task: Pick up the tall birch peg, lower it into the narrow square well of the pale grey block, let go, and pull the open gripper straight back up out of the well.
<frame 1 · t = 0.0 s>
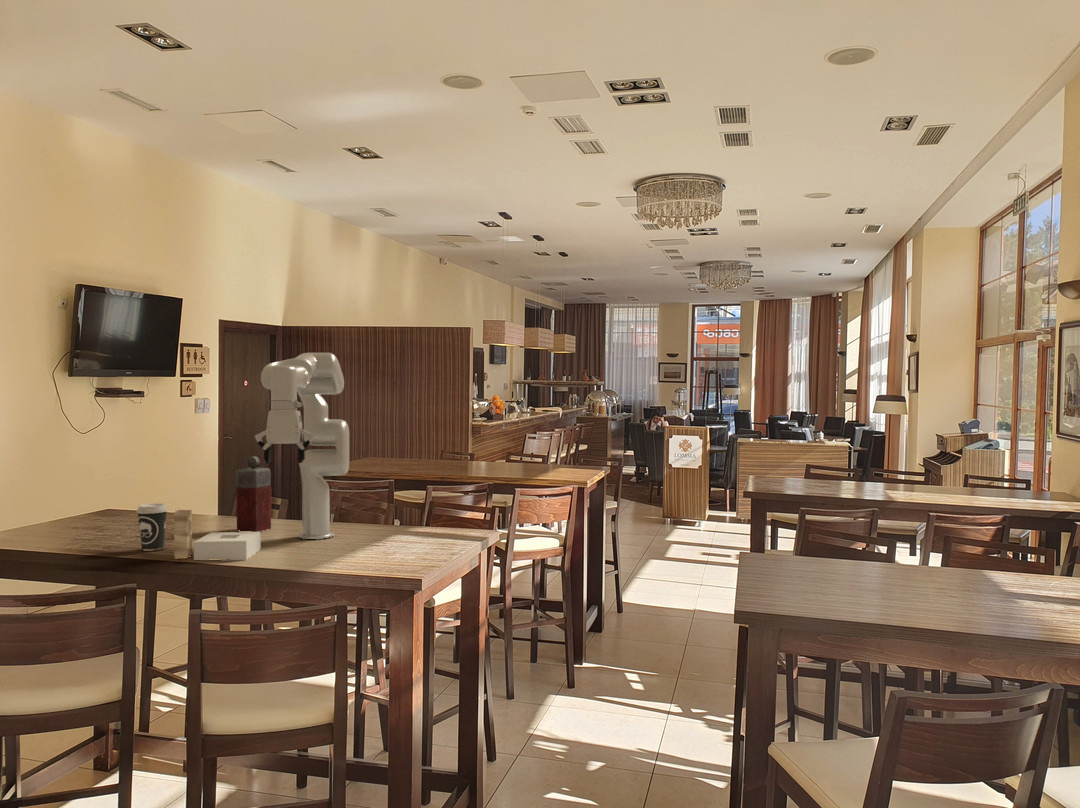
hand: (284, 462, 240), 31 cm above the table, tool pointing down, fingers open, 9 cm apart
peg: (183, 557, 251), on the table
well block: (228, 555, 255), on the table
red grey canister: (256, 530, 300), on the table
coffee cup: (152, 550, 263), on the table
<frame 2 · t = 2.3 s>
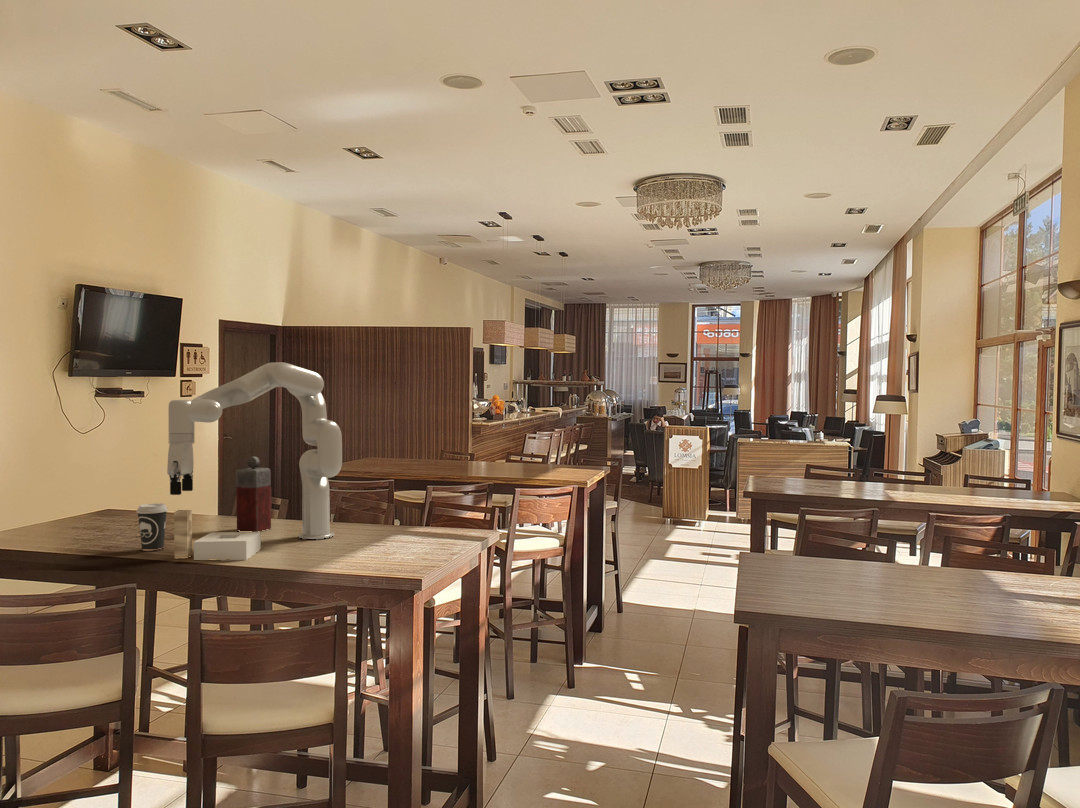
hand: (181, 492, 250), 21 cm above the table, tool pointing down, fingers open, 9 cm apart
nothing on the table moved.
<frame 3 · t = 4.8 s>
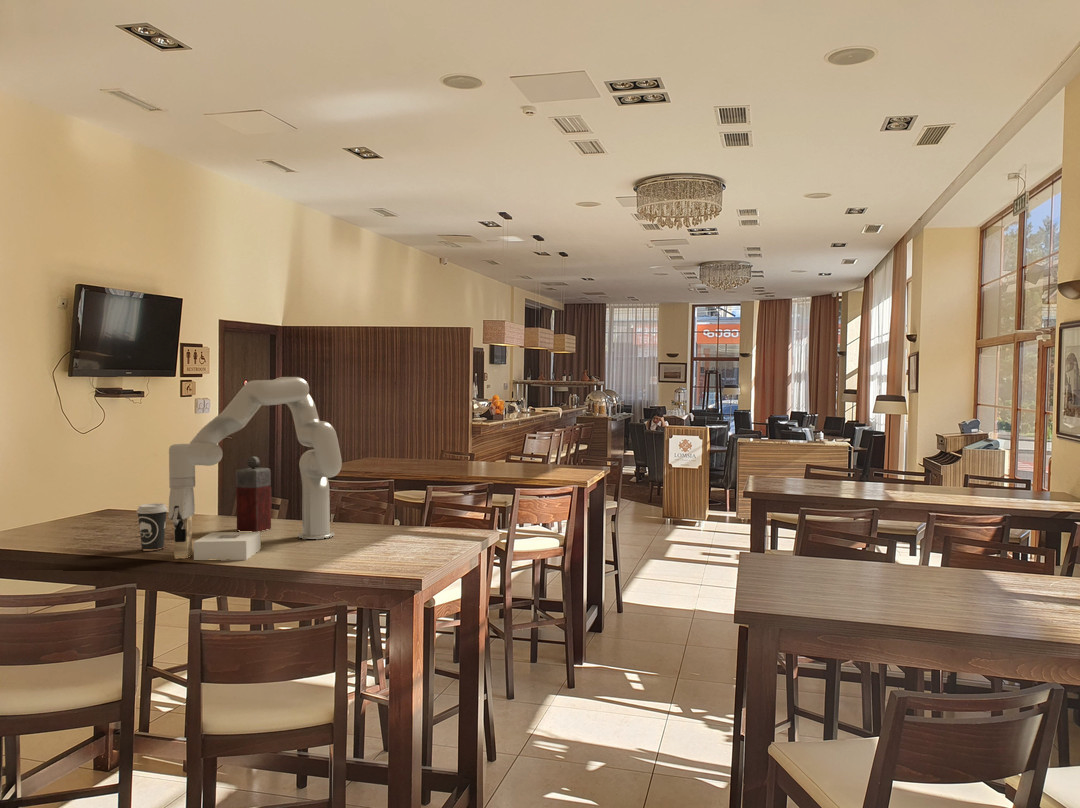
hand: (183, 539, 250), 6 cm above the table, tool pointing down, fingers closed on peg, 4 cm apart
peg: (183, 557, 251), on the table, touching gripper
everything else where it was.
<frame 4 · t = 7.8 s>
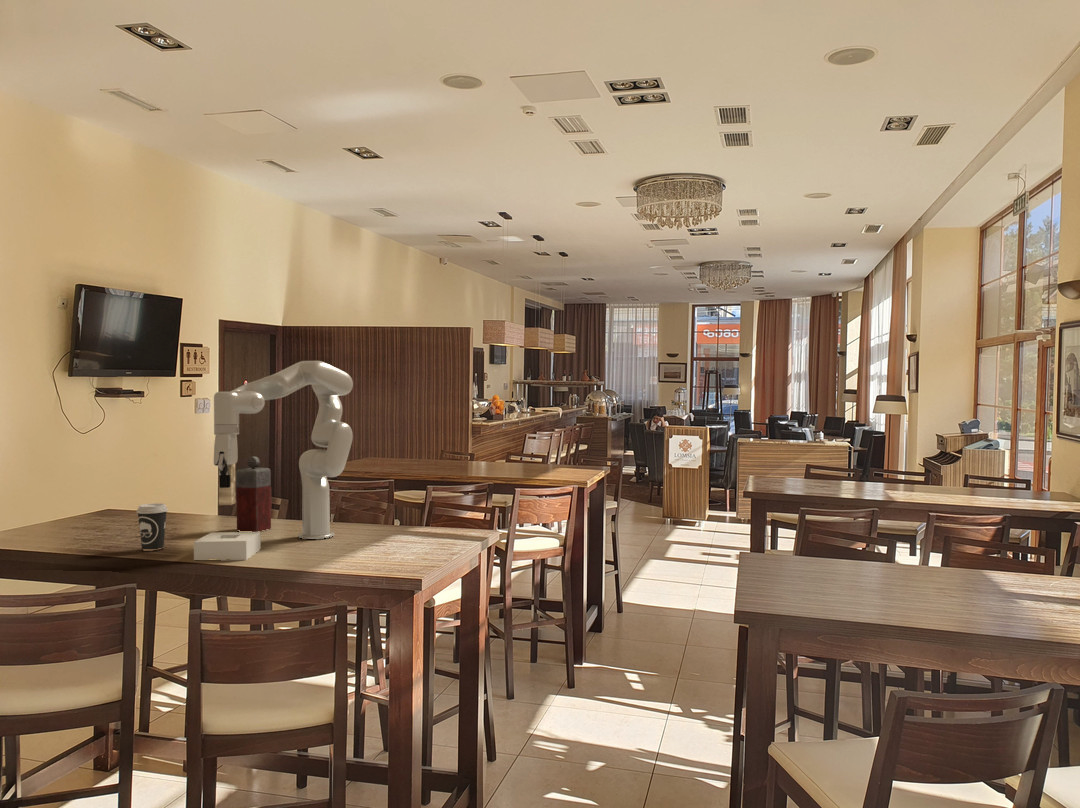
hand: (227, 486, 254), 22 cm above the table, tool pointing down, fingers closed on peg, 4 cm apart
peg: (227, 504, 254), point 17 cm above the table, touching gripper
everything else where it was.
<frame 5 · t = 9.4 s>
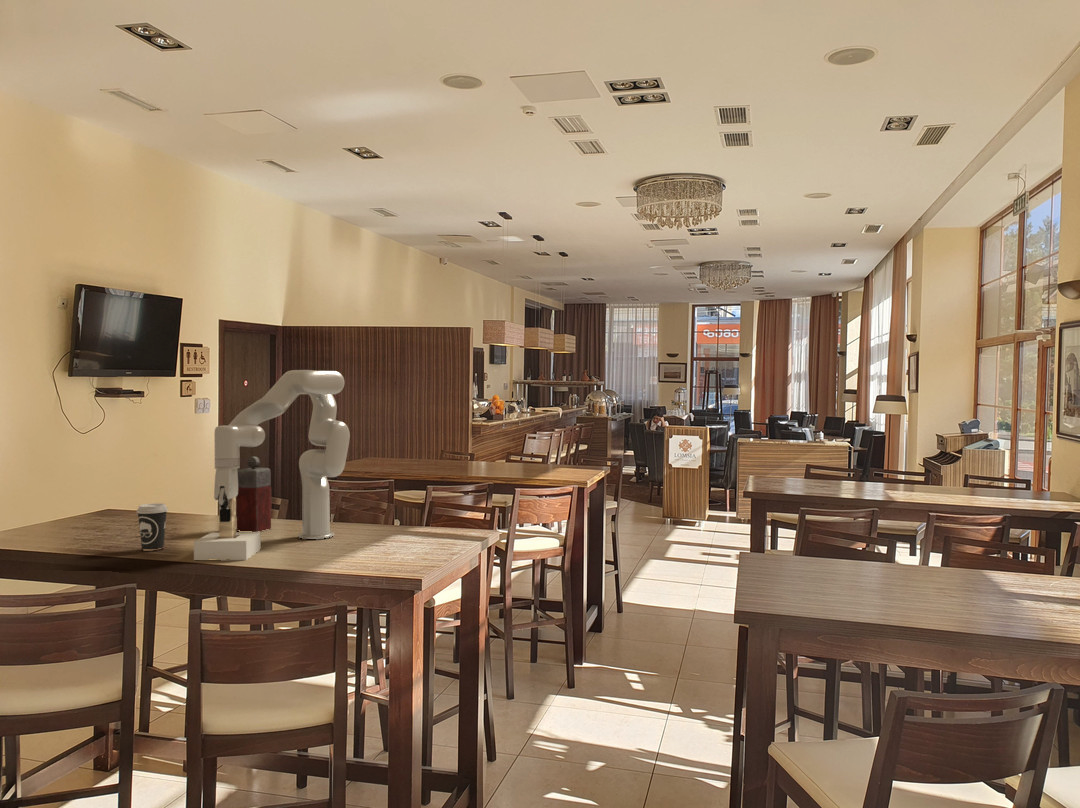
hand: (227, 519, 254), 11 cm above the table, tool pointing down, fingers closed on peg, 4 cm apart
peg: (227, 537, 254), point 6 cm above the table, touching gripper
everything else where it was.
when the fingers open (7 cm above the table, at t = 10.9 s): peg drops 1 cm, resting in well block.
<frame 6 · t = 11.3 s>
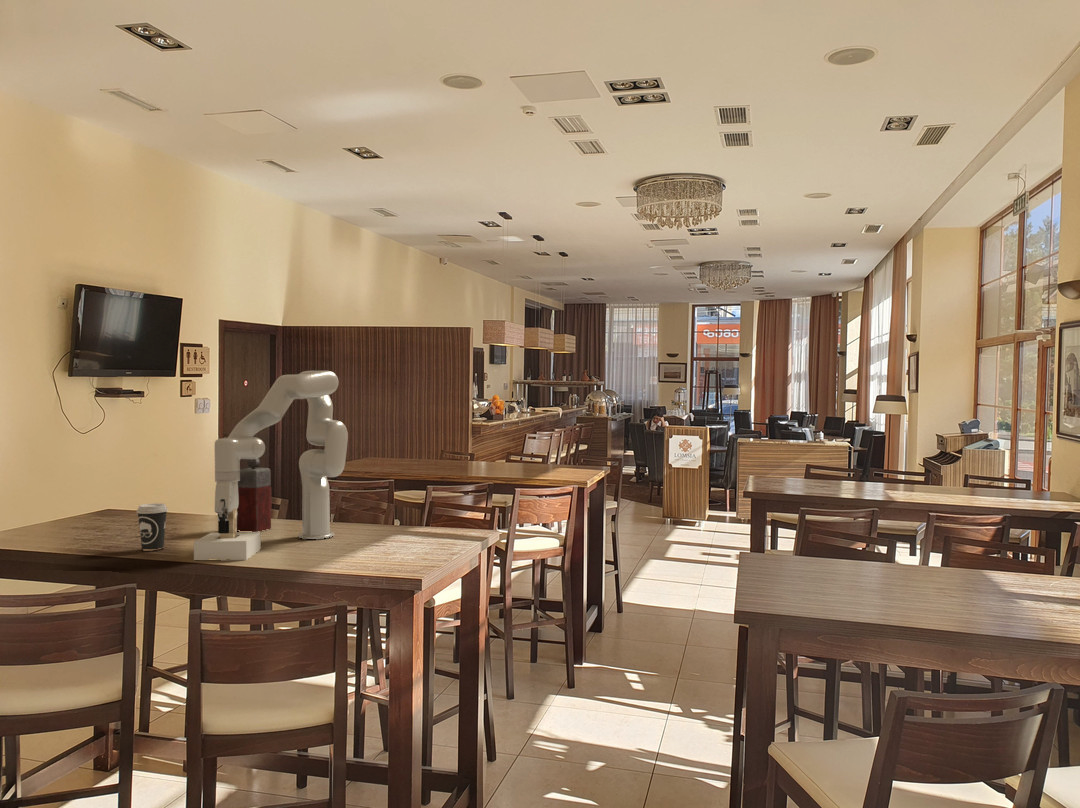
hand: (228, 530, 254), 8 cm above the table, tool pointing down, fingers open, 8 cm apart
peg: (228, 554, 255), resting in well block
everything else where it was.
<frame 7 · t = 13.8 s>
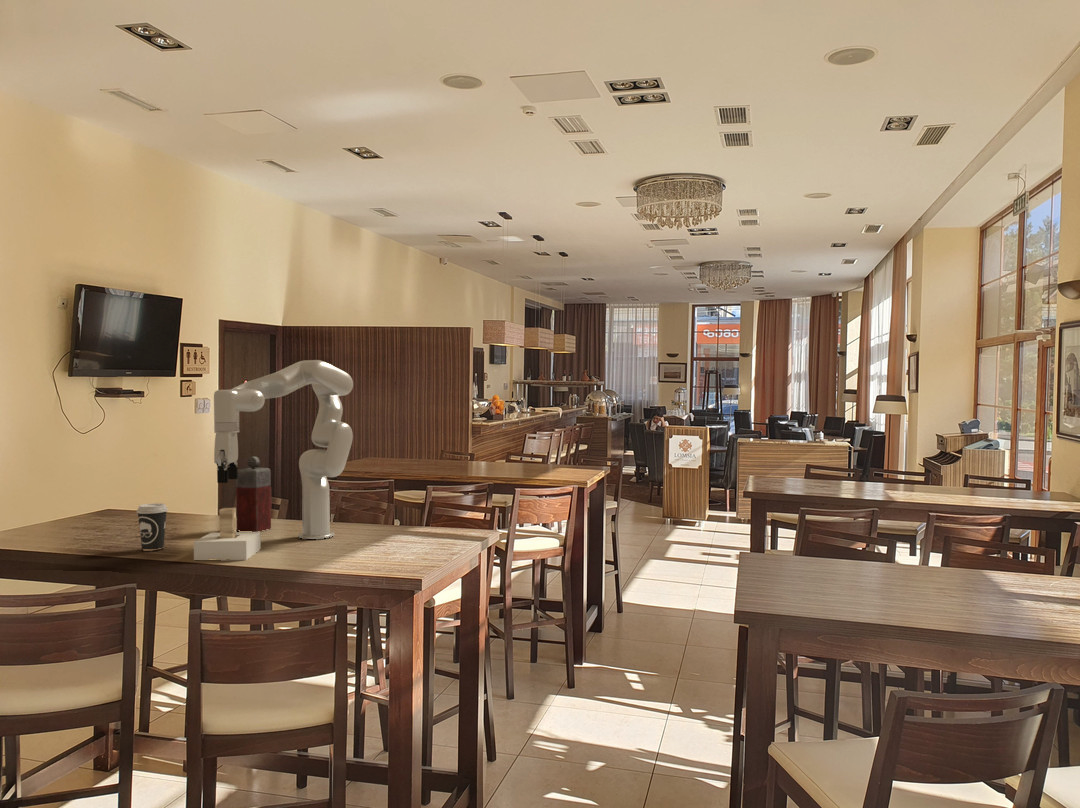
hand: (227, 480, 254), 24 cm above the table, tool pointing down, fingers open, 9 cm apart
nothing on the table moved.
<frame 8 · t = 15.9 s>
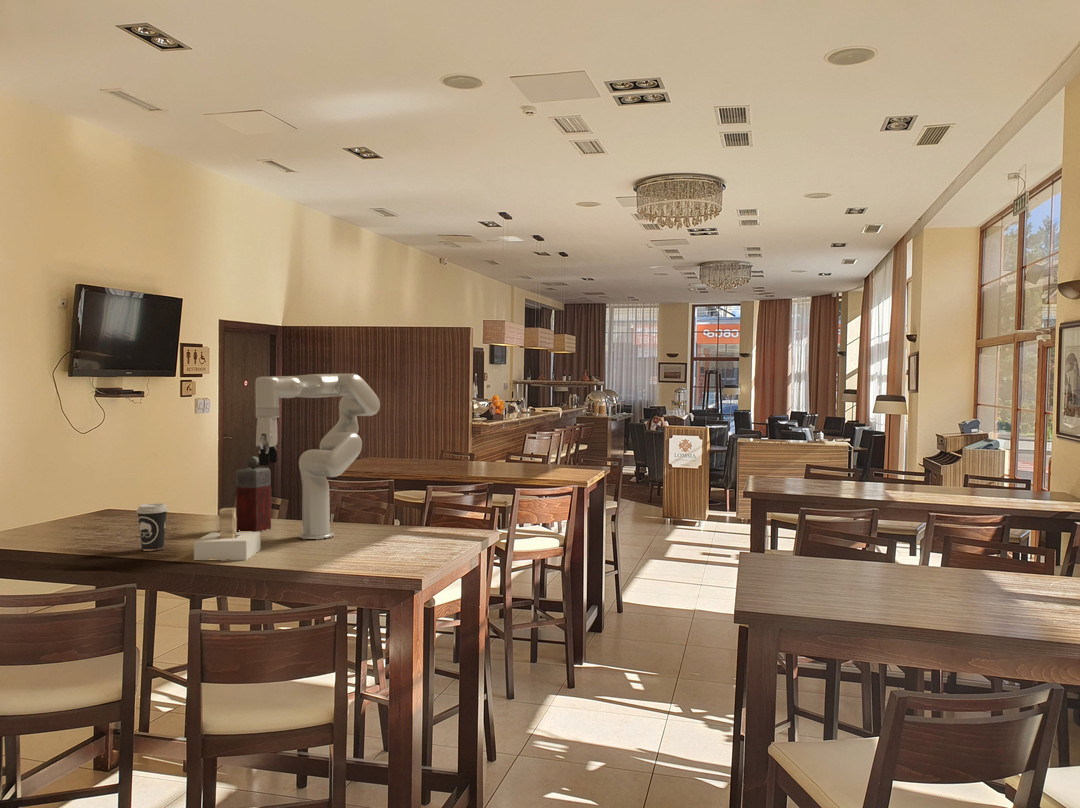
hand: (268, 464, 266), 28 cm above the table, tool pointing down, fingers open, 9 cm apart
nothing on the table moved.
at the end: peg 0.1 cm off-centre on the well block, point 0.0 cm above the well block's base; peg tilted 0°; the gripper is holding nothing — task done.
